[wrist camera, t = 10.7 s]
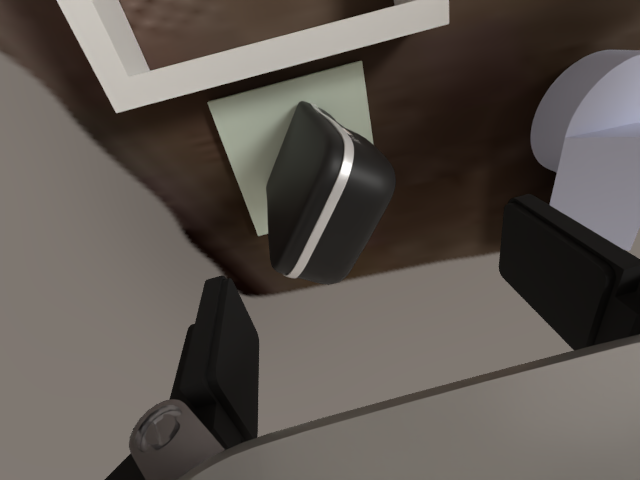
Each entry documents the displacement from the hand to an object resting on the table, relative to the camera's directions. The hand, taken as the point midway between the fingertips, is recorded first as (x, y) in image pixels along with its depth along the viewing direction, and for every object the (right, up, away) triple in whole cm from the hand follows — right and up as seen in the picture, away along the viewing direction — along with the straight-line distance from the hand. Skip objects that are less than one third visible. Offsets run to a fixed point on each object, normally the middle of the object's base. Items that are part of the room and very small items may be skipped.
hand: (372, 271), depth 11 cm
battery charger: (-3, +7, +12) cm, 14 cm away
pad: (-3, +7, +13) cm, 15 cm away
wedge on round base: (+19, +9, +16) cm, 27 cm away
